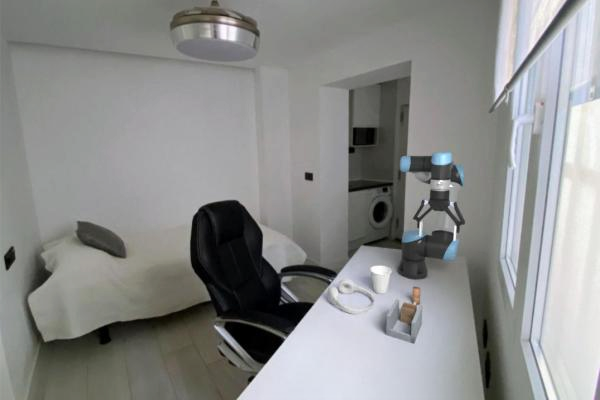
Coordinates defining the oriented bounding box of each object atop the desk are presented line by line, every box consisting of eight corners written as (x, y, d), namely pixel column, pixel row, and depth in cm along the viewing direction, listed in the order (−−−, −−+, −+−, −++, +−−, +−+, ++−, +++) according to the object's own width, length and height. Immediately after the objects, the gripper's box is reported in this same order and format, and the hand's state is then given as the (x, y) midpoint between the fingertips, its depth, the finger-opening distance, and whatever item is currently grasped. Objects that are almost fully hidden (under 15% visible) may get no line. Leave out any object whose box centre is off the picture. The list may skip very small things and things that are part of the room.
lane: (395, 317, 122) (396, 299, 121) (421, 324, 117) (422, 305, 115) (386, 334, 111) (386, 315, 110) (414, 343, 106) (415, 323, 105)
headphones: (321, 287, 134) (359, 310, 121) (345, 273, 146) (382, 292, 133) (320, 301, 136) (357, 324, 123) (344, 286, 149) (379, 306, 136)
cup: (392, 297, 138) (392, 274, 136) (370, 295, 140) (370, 273, 138) (390, 286, 147) (390, 265, 145) (369, 285, 149) (369, 264, 147)
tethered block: (410, 299, 135) (411, 285, 133) (422, 302, 132) (423, 288, 131) (400, 321, 119) (401, 305, 118) (413, 325, 117) (414, 308, 115)
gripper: (407, 189, 129) (405, 236, 133) (473, 192, 116) (469, 244, 120) (410, 186, 135) (409, 231, 139) (474, 189, 122) (470, 239, 126)
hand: (437, 237), depth 130 cm, fingers open, 13 cm apart
